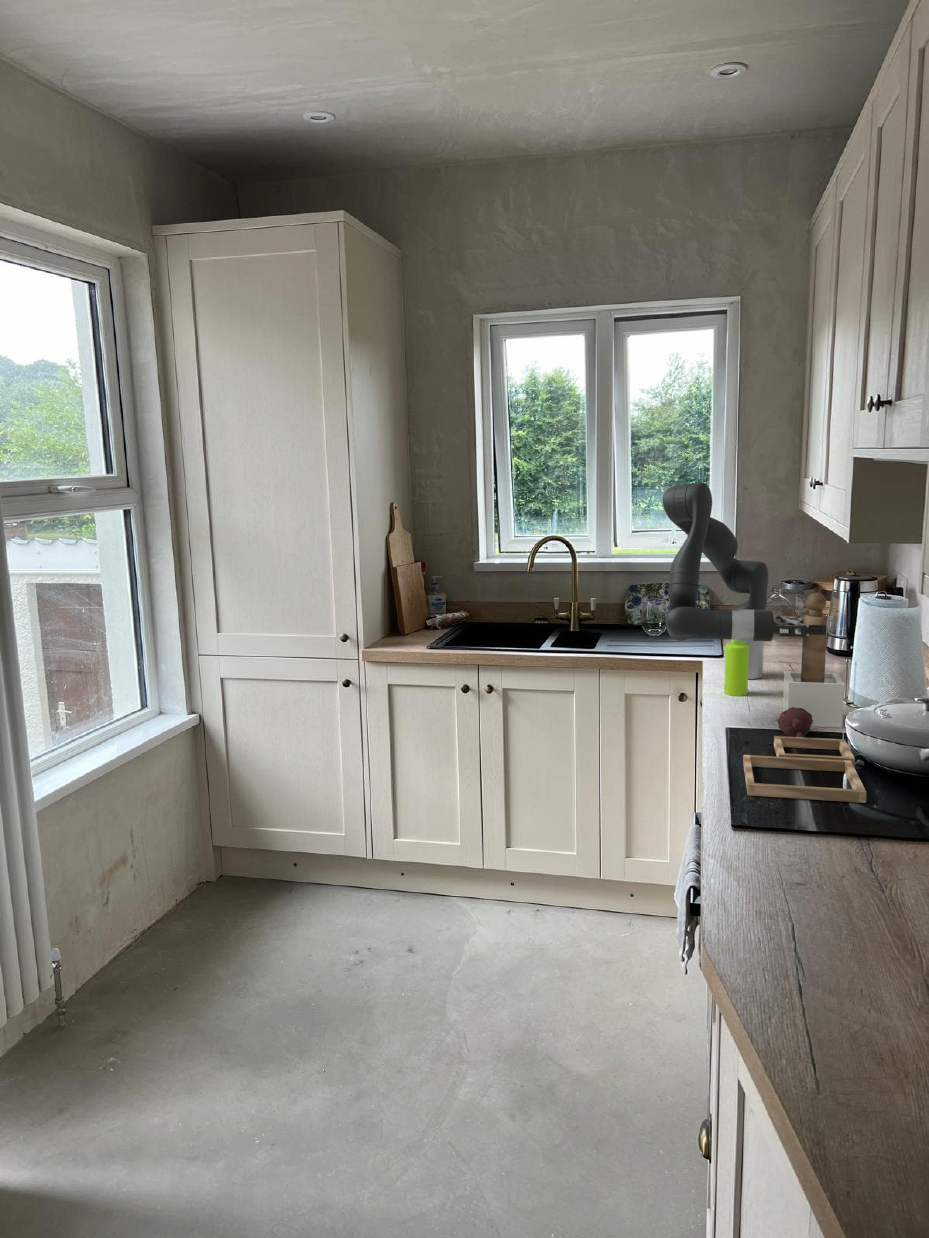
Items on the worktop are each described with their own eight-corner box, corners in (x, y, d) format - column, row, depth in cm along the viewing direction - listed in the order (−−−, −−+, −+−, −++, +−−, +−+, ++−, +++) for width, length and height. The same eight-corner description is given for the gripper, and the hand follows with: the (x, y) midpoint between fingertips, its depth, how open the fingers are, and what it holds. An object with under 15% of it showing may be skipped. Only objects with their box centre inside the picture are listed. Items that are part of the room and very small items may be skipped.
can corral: (773, 744, 199) (774, 735, 199) (844, 748, 195) (844, 739, 195) (778, 764, 186) (779, 754, 186) (854, 768, 183) (855, 758, 182)
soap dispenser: (752, 696, 240) (754, 621, 237) (725, 695, 241) (727, 621, 238) (750, 691, 246) (752, 617, 242) (723, 690, 247) (725, 617, 244)
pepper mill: (799, 679, 219) (803, 591, 216) (822, 680, 218) (826, 591, 215) (802, 684, 214) (805, 593, 211) (825, 685, 213) (829, 594, 210)
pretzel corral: (743, 764, 187) (743, 754, 186) (850, 770, 182) (850, 760, 181) (747, 795, 169) (747, 784, 169) (865, 802, 164) (866, 792, 164)
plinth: (782, 711, 225) (784, 671, 223) (834, 713, 222) (836, 673, 220) (787, 725, 213) (788, 682, 212) (842, 727, 210) (844, 684, 209)
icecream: (771, 699, 212) (777, 723, 197) (805, 693, 209) (813, 716, 195) (778, 727, 213) (785, 752, 199) (811, 721, 211) (820, 746, 197)
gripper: (753, 614, 210) (828, 615, 206) (750, 605, 224) (820, 606, 220) (752, 646, 211) (827, 648, 207) (749, 635, 225) (819, 636, 221)
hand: (824, 626), depth 213 cm, fingers open, 8 cm apart
